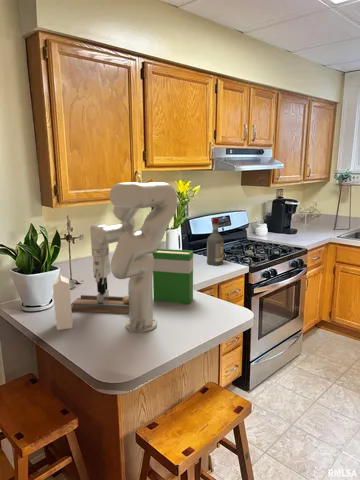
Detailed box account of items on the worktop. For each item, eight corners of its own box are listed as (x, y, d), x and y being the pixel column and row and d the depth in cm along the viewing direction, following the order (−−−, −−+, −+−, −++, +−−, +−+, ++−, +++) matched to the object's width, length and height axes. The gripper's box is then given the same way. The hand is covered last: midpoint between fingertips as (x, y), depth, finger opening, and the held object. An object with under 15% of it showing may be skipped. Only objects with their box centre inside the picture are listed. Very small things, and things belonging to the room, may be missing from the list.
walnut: (130, 306, 160) (129, 297, 159) (121, 305, 160) (121, 297, 159) (132, 302, 163) (132, 294, 163) (124, 302, 164) (123, 294, 163)
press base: (138, 313, 156) (137, 296, 155) (68, 310, 160) (67, 293, 159) (143, 304, 166) (143, 288, 165) (77, 301, 170) (76, 285, 169)
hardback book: (153, 300, 171) (152, 252, 166) (158, 295, 178) (157, 248, 173) (189, 304, 167) (189, 254, 161) (193, 298, 174) (193, 250, 168)
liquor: (205, 264, 231) (205, 218, 224) (212, 260, 238) (212, 216, 232) (217, 266, 226) (218, 219, 219) (224, 262, 233) (225, 217, 227)
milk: (56, 330, 142) (51, 277, 137) (57, 323, 147) (52, 272, 142) (72, 328, 143) (68, 276, 138) (72, 321, 149) (68, 271, 144)
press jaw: (103, 305, 159) (102, 280, 157) (97, 305, 160) (95, 280, 157) (108, 299, 166) (107, 275, 164) (102, 299, 167) (101, 275, 164)
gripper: (102, 256, 149) (104, 297, 153) (114, 247, 165) (115, 285, 169) (85, 256, 150) (88, 297, 154) (98, 247, 166) (100, 284, 170)
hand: (102, 290), depth 162 cm, fingers closed on press jaw, 2 cm apart
